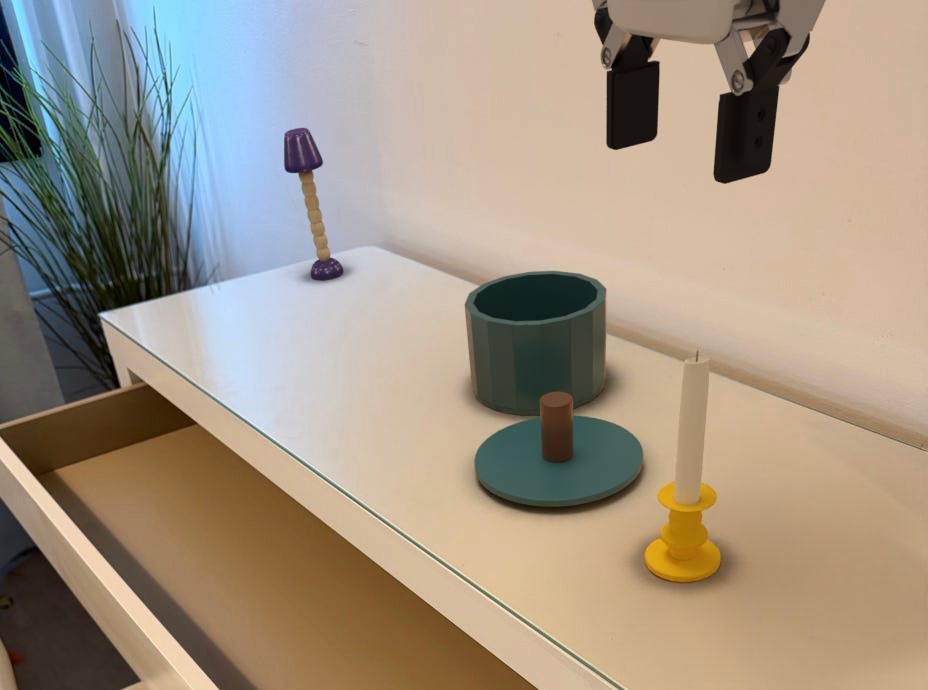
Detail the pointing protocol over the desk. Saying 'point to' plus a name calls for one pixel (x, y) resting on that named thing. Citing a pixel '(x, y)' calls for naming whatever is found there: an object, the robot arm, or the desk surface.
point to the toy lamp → (310, 196)
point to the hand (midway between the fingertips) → (683, 159)
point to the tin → (536, 339)
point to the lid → (558, 457)
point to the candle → (687, 491)
